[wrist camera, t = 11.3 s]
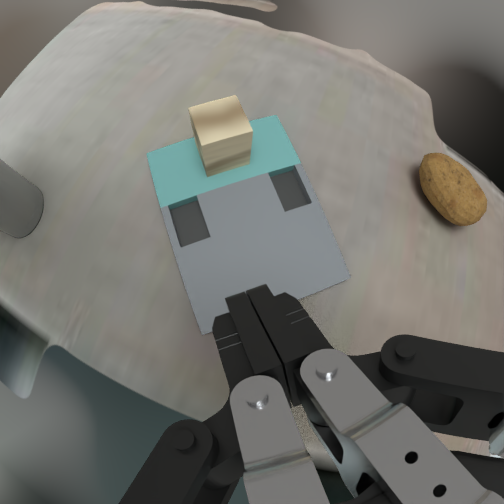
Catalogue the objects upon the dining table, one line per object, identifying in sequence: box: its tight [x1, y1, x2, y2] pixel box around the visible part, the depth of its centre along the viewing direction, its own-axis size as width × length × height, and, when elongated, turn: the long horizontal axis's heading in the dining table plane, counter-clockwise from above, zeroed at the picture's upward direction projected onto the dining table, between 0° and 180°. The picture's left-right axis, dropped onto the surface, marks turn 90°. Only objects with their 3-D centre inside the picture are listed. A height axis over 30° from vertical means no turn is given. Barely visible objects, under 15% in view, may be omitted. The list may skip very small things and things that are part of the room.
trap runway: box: [147, 115, 351, 335], centre depth 39 cm, size 26×20×2 cm
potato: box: [419, 153, 487, 226], centre depth 39 cm, size 10×14×8 cm
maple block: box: [188, 95, 253, 177], centre depth 36 cm, size 6×6×8 cm
